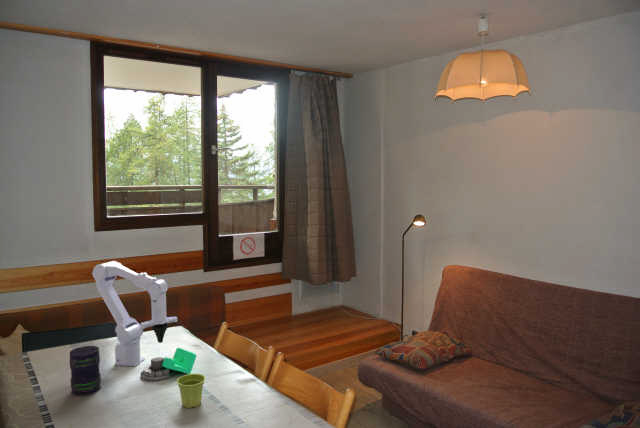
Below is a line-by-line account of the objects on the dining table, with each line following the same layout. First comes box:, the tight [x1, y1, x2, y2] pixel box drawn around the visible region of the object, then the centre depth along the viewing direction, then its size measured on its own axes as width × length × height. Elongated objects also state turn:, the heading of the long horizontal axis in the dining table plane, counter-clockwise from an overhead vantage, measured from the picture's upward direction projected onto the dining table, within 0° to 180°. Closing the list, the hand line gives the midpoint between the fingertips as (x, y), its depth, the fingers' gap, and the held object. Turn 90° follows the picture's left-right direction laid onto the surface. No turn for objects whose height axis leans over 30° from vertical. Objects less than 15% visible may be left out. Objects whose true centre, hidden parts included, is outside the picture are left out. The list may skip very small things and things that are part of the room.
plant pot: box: [176, 373, 206, 409], centre depth 161 cm, size 9×9×9 cm
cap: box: [150, 356, 165, 370], centre depth 187 cm, size 5×5×5 cm
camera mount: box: [162, 347, 197, 375], centre depth 188 cm, size 12×8×10 cm
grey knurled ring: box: [140, 363, 176, 382], centre depth 187 cm, size 13×13×3 cm
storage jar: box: [69, 345, 102, 397], centre depth 173 cm, size 10×10×15 cm
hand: (160, 342), depth 196 cm, fingers closed
